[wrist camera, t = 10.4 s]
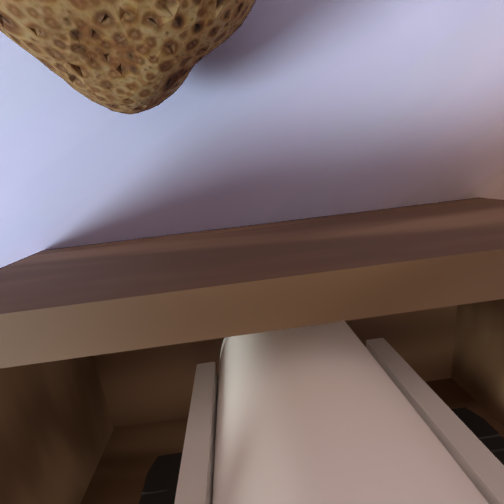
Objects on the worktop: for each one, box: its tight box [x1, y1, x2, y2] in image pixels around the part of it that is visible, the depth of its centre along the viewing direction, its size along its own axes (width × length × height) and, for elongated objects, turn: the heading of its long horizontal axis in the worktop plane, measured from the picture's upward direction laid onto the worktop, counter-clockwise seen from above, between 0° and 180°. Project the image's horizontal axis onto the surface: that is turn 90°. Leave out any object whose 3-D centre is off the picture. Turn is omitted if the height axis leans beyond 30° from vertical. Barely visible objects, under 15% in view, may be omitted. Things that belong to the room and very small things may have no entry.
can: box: [212, 321, 489, 504], centre depth 9 cm, size 6×6×12 cm
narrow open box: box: [0, 198, 504, 504], centre depth 13 cm, size 12×23×8 cm, turn 96°
